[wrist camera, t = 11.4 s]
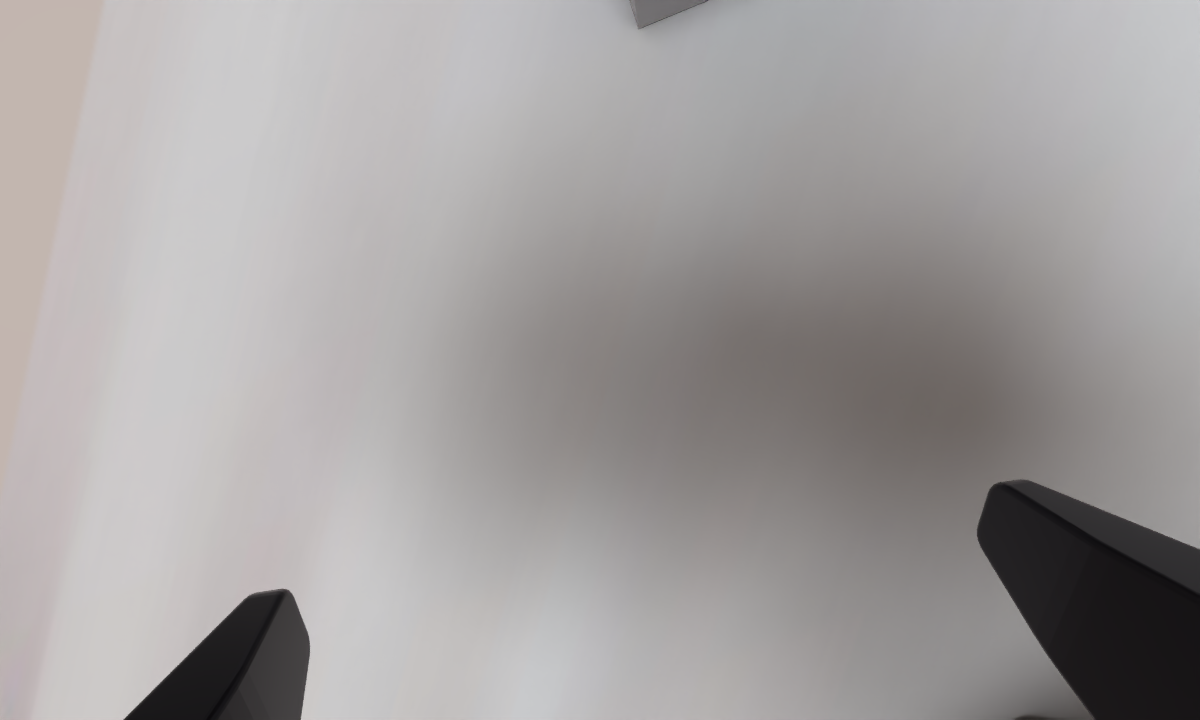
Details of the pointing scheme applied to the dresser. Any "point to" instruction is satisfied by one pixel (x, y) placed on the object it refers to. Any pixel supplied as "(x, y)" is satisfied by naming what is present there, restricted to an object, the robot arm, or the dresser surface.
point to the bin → (658, 9)
